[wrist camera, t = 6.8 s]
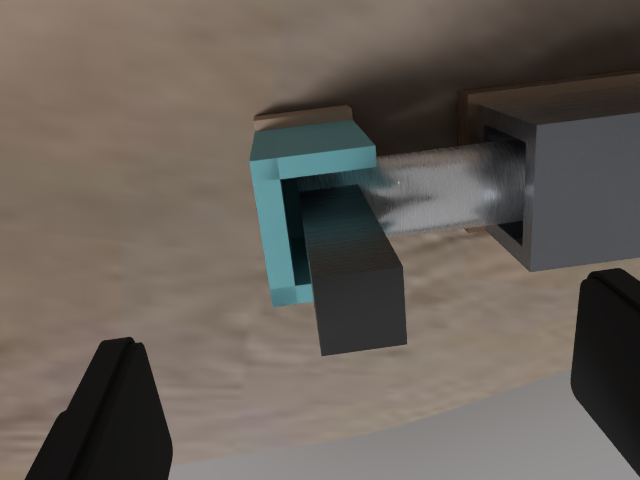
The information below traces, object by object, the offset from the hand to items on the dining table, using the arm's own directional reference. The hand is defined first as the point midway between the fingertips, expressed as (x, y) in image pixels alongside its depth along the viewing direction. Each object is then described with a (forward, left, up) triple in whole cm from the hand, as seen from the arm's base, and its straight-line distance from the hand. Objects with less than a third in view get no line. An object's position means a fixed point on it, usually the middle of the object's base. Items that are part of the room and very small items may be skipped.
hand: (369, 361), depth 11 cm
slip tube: (+1, +5, -14) cm, 15 cm away
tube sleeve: (+1, +13, -17) cm, 21 cm away
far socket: (+1, 0, -17) cm, 17 cm away
